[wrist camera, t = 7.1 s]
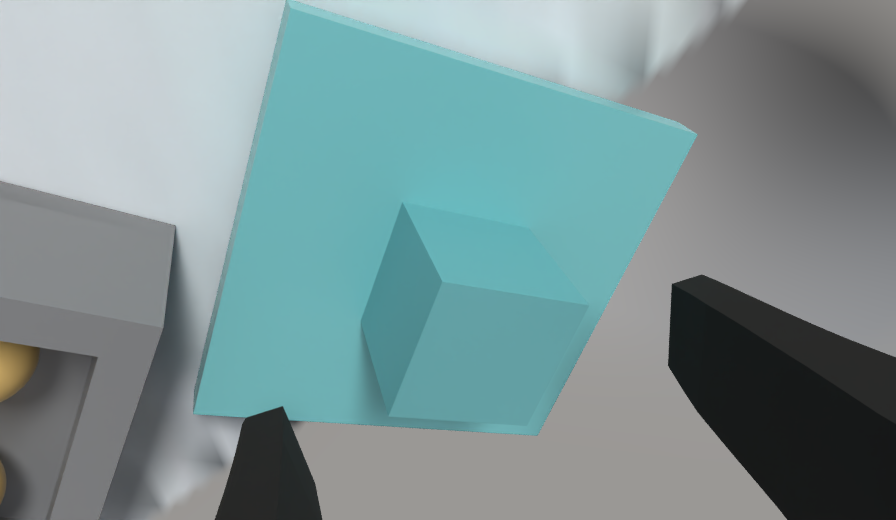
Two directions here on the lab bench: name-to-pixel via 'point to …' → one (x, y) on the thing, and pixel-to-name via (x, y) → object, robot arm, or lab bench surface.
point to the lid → (423, 234)
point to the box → (72, 346)
